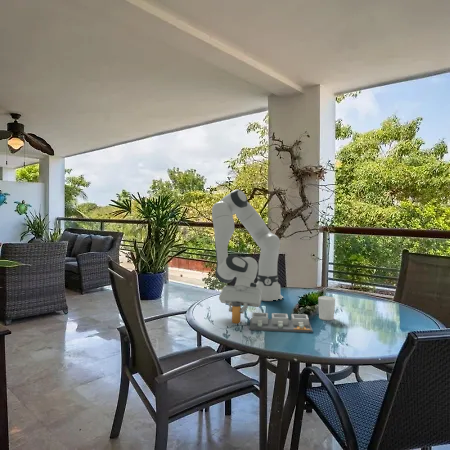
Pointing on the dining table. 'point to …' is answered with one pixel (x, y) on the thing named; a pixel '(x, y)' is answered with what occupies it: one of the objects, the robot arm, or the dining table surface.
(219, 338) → the dining table surface
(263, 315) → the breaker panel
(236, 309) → the orange capped bottle
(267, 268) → the robot arm
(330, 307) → the white cup
